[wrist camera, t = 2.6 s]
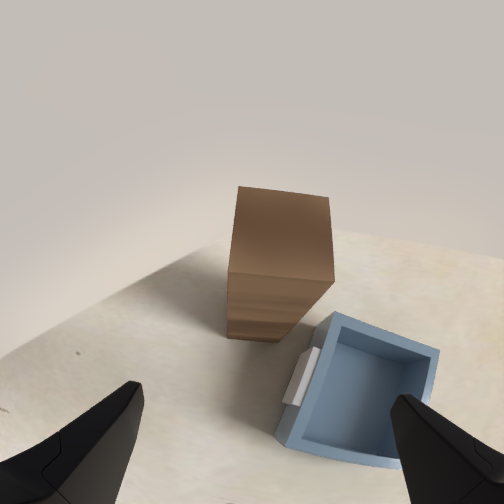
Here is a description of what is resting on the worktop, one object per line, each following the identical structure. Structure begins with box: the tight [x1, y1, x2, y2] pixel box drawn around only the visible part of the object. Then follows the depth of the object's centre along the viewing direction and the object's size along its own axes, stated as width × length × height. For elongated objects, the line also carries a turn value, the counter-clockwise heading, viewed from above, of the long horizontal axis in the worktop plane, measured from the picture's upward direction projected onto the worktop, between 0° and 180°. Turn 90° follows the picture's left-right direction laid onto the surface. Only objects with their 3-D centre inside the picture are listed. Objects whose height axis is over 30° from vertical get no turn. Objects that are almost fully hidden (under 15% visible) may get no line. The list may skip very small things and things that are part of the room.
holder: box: [273, 311, 440, 470], centre depth 18 cm, size 10×10×4 cm
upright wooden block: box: [227, 186, 335, 343], centre depth 17 cm, size 4×4×13 cm
